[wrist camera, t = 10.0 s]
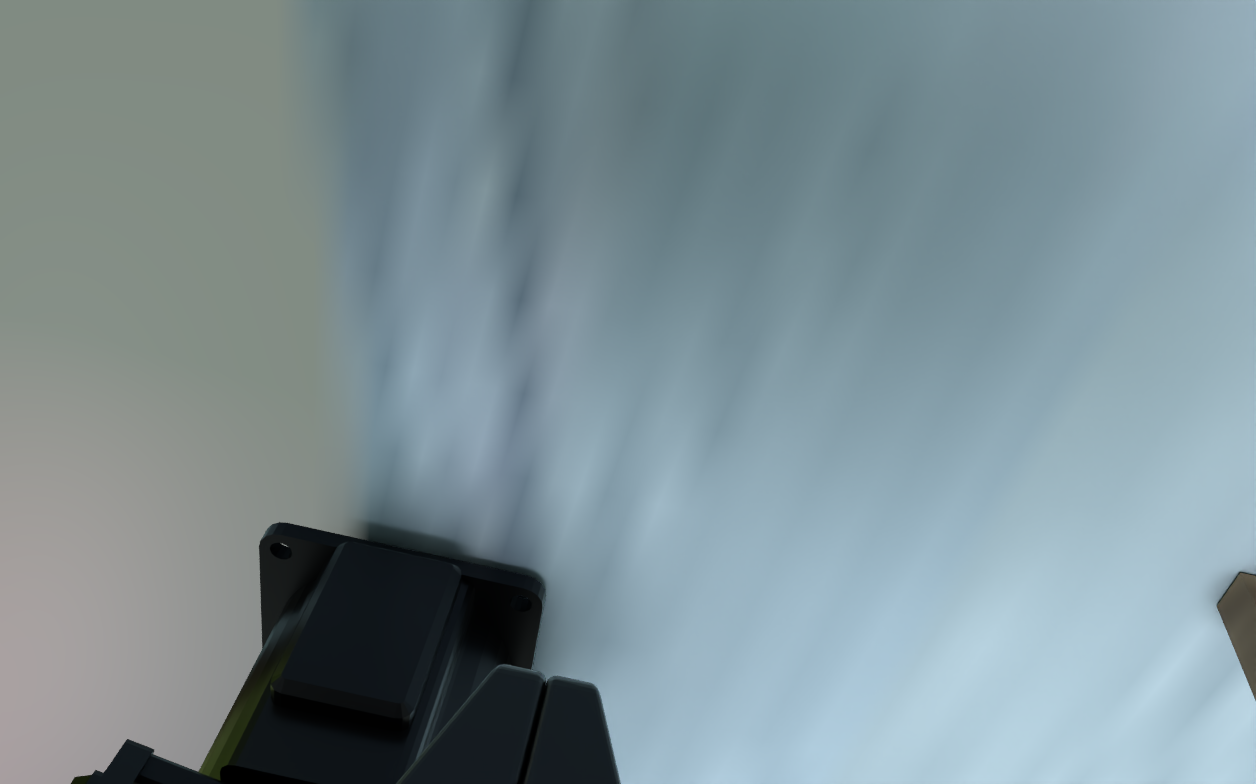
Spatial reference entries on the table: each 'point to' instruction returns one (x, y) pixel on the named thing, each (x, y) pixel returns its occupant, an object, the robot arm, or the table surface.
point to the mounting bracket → (1242, 623)
